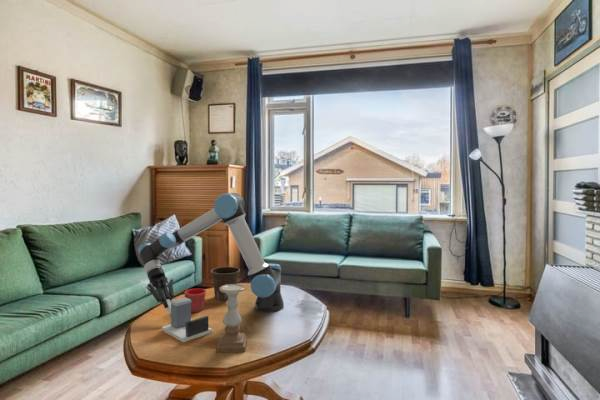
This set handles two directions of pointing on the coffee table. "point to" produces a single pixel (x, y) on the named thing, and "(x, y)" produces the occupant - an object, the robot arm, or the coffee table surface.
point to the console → (189, 329)
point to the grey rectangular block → (180, 312)
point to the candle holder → (232, 322)
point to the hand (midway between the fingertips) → (171, 312)
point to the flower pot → (196, 299)
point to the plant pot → (224, 280)
